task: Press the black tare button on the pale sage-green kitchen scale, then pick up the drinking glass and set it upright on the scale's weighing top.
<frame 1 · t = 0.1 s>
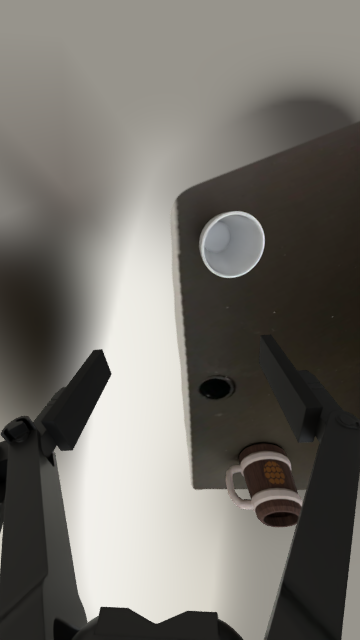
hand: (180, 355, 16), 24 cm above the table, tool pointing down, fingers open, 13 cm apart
drinking glass: (215, 236, 34), on the table
mug: (253, 454, 63), on the table
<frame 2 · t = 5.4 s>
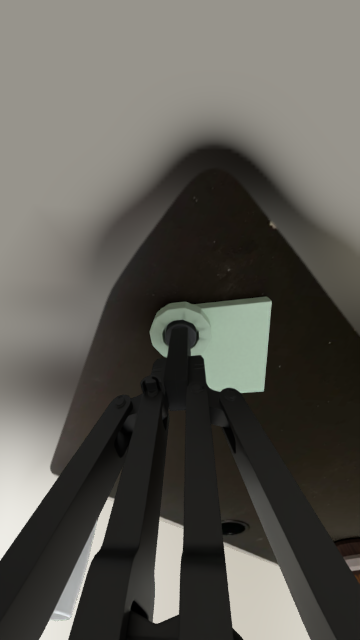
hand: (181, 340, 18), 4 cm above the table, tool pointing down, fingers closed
drinking glass: (95, 471, 37), on the table
mug: (344, 549, 50), on the table
tare button: (180, 334, 19), point 3 cm above the table, slide at -0.7 cm, touching gripper
scale: (215, 348, 23), on the table
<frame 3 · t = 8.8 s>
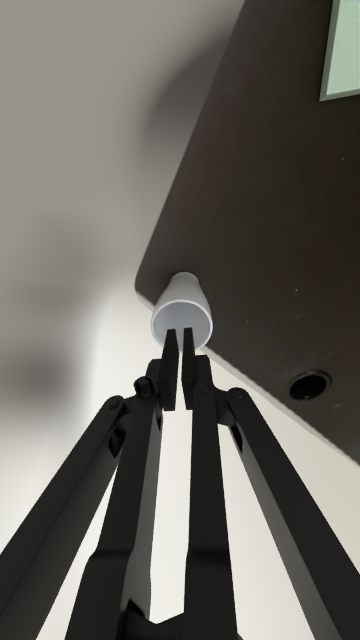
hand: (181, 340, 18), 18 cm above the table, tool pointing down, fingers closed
drinking glass: (184, 285, 34), on the table
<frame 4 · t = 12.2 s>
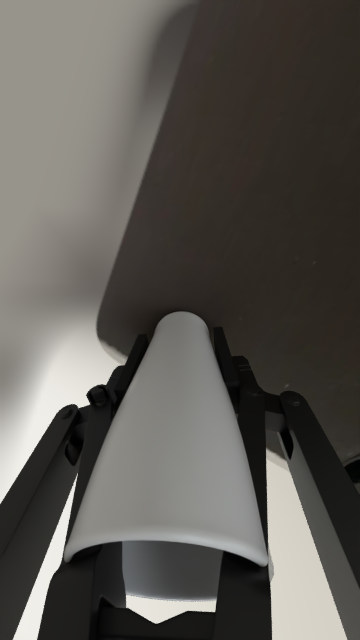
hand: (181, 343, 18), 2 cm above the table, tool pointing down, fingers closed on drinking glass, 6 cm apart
drinking glass: (182, 332, 20), on the table, touching gripper
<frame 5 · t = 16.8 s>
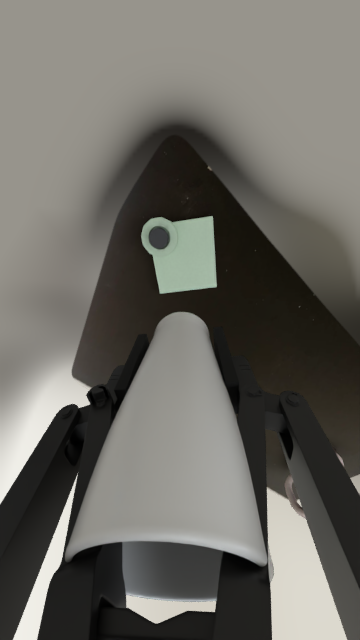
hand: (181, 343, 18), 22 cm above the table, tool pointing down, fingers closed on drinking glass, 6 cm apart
drinking glass: (182, 332, 20), point 20 cm above the table, touching gripper
mug: (302, 456, 62), on the table
tare button: (159, 238, 31), point 3 cm above the table, slide at 0.1 cm
scale: (184, 257, 36), on the table
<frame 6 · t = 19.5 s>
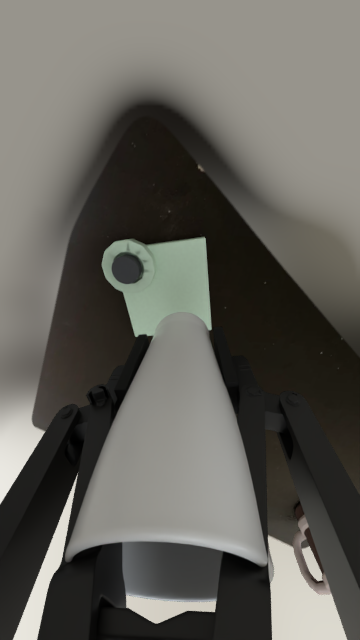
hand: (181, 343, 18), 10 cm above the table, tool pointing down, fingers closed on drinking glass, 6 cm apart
drinking glass: (182, 332, 20), point 8 cm above the table, touching gripper
mug: (313, 509, 53), on the table
tare button: (127, 269, 22), point 3 cm above the table, slide at 0.1 cm
scale: (166, 290, 26), on the table
when the fingers open (3 cm above the table, at t = 21.7 s): drinking glass stays where it is, resting on scale.
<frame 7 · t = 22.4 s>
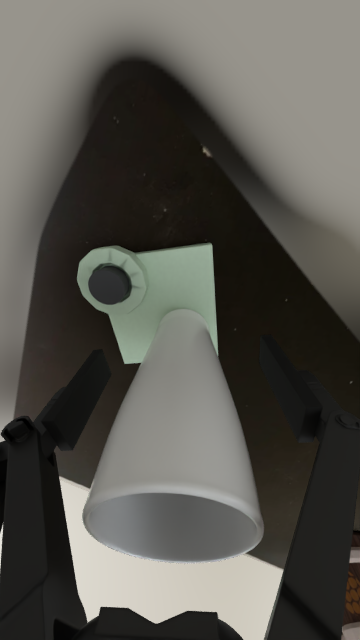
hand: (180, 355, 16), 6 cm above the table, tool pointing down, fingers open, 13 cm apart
drinking glass: (183, 328, 21), point 1 cm above the table, touching scale
mug: (328, 543, 47), on the table
tare button: (109, 285, 16), point 3 cm above the table, slide at 0.1 cm
scale: (162, 308, 21), on the table
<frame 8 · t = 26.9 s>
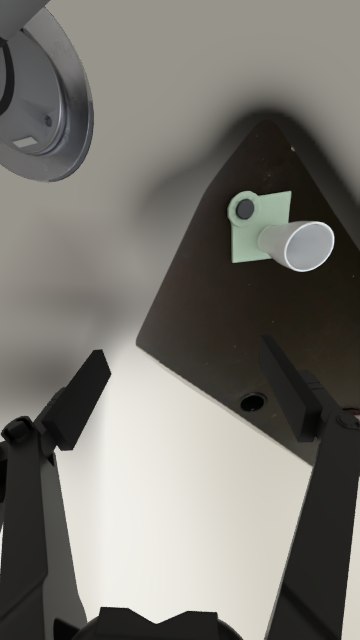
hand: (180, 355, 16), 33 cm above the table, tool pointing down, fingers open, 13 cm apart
drinking glass: (268, 239, 41), point 1 cm above the table, touching scale
tare button: (245, 209, 36), point 3 cm above the table, slide at 0.1 cm
scale: (257, 229, 41), on the table
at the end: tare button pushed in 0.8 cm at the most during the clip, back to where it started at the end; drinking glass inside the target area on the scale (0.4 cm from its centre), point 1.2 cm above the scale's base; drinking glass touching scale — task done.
